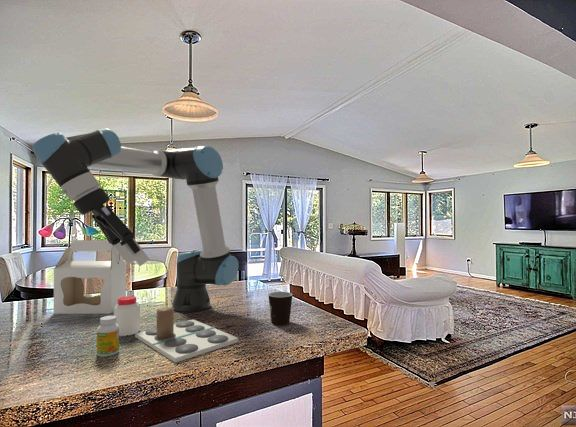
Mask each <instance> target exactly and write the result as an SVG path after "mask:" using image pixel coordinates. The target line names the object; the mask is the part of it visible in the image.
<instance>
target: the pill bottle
mask: <svg viewBox="0 0 576 427" xmlns="http://www.w3.org/2000/svg"><path fill="white" fill-rule="evenodd" d="M113 316H116V320H117V321H116V324H118V325H119V337H126V336H127V335H128V336H131V335H135V333H139V332H141V304H140V303H139V302H137V296H134V295H128V296H127V295H126V296H125V297H120V298H118V304H116V305H115V306H114V312H113Z"/></svg>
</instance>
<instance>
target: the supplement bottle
mask: <svg viewBox="0 0 576 427" xmlns="http://www.w3.org/2000/svg"><path fill="white" fill-rule="evenodd" d="M116 321H117V320H116V316H114V315H106V316H103V317H100V318H99V326H98V327H97V328H96V329H97V330H96V355H97V356H98V357H102V358H105V357H111V356H114V355H116V354H117V353H118V352H119V350H120V336H119V325H118V324H116Z"/></svg>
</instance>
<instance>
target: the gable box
mask: <svg viewBox="0 0 576 427" xmlns="http://www.w3.org/2000/svg"><path fill="white" fill-rule="evenodd" d="M77 252H78V253H79V252H80V253H81V252H89V253H90V252H99V253H100V252H101V253H102V252H108V253H111V255H110V260H75V257H74V256H75V254H74V253H77ZM94 278H95V279H96V278H97V279H102V280H103V284H102V287H101V290H100V294H99V295H94V296H90V297H87V296H85V295H84V291H85V287H84V283H83V280H82V279H85V280H87V279H94ZM125 296H127V263H126V262H125V260H124V259H123V258H122V256H121V255H120V254H119V252H118V251H117V250H116V249H115V247H114V246H113V245H112V244H110V243H109V241H108V240H107V239H96V240H94V239H93V240H92V239H91V240H90V239H80V240H78V239H76V240H75V239H73V240H72V241H71V242H70V247H65V248H64V252H63V254H62V256H61V258H60V259H59V261H58V262H57V264H56V265H55V267H54V269H53V315H91V314H92V315H93V314H95V315H100V314H101V315H104V314H105V315H106V314H108V315H109V314H110V315H111V314H112V313H113V314H114V306H115V305H116V304H118V298H120V297H125Z"/></svg>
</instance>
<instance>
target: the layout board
mask: <svg viewBox="0 0 576 427" xmlns="http://www.w3.org/2000/svg"><path fill="white" fill-rule="evenodd" d="M174 312H175V310H174V308H172V306H170V307H169V306H167V307H160V308H158V309H156V327H153V328H149V329H147V330H144V331H143V330H142V331H139V332H138V333H135V334H134V335H135V336H134V337H135V338H136V339H137V338H138V341H140V342H142V343H144V344H145V345H147V346H148V347H150V348H151V349H153V350H155V352H158V353H159V354H160V355H162V356H164V357H165V358H167V359H168V360H170V361H171V362H173V363H178V362H182V361H185V360H188V359H191V358H194V357H197V356H200V355H203V354H206V353H210V352H212V351H215V350H218V349H221V348H224V347H227V346H230V345H233V344H237V343H239V337H238V336H234V335H233V334H230V333H227V332H225V331H222V330H220V329H218V328H215V327H214V326H210V325H208V324H205V323H204V322H201V321H198V320H196V319H189V320H183V321H178V322H176V323H174V317H175V316H174V315H175V313H174Z"/></svg>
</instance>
